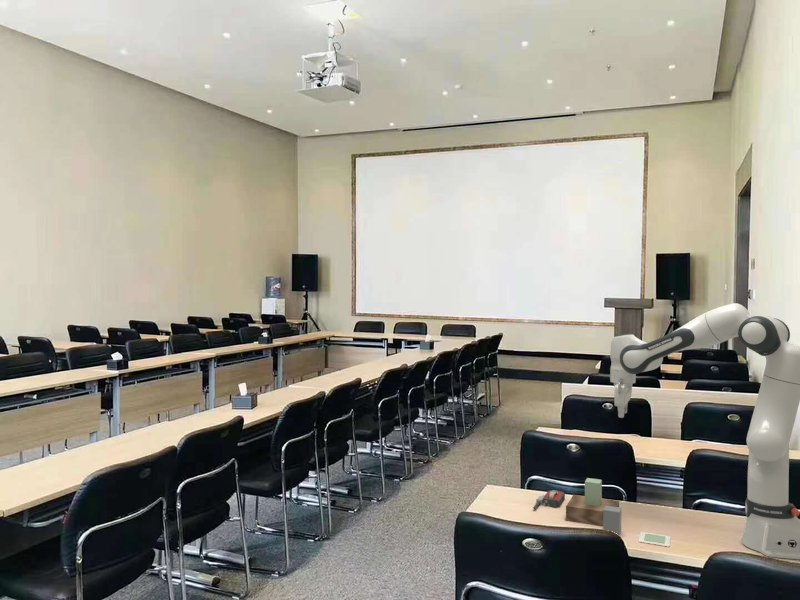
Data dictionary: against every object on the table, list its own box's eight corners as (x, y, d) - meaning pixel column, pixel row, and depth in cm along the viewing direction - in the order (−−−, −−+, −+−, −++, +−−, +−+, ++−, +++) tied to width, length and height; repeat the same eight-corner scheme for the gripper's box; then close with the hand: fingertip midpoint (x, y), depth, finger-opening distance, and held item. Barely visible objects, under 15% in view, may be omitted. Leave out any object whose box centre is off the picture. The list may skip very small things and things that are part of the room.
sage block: (601, 502, 223) (601, 479, 223) (599, 506, 218) (599, 483, 218) (587, 500, 225) (587, 477, 225) (584, 504, 220) (584, 481, 220)
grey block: (621, 531, 208) (621, 507, 208) (619, 537, 204) (619, 512, 204) (605, 529, 211) (605, 505, 210) (603, 534, 206) (603, 509, 206)
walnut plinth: (619, 514, 224) (619, 500, 224) (614, 527, 212) (614, 513, 212) (573, 508, 231) (573, 494, 231) (565, 520, 219) (565, 506, 219)
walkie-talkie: (543, 496, 247) (531, 511, 228) (543, 484, 247) (531, 499, 228) (566, 499, 243) (555, 515, 225) (566, 487, 243) (555, 503, 225)
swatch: (670, 537, 204) (670, 535, 204) (669, 547, 196) (669, 545, 195) (641, 532, 208) (641, 531, 208) (638, 542, 199) (638, 540, 199)
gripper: (628, 381, 221) (628, 420, 221) (634, 375, 240) (634, 411, 240) (610, 380, 224) (609, 419, 224) (617, 374, 242) (617, 410, 243)
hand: (622, 415), depth 232 cm, fingers open, 8 cm apart
